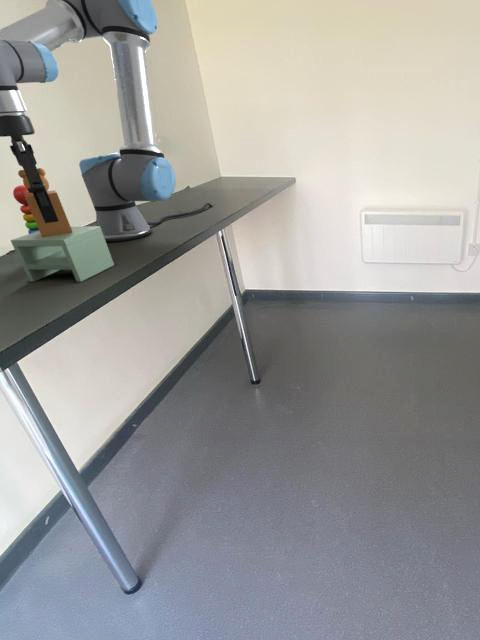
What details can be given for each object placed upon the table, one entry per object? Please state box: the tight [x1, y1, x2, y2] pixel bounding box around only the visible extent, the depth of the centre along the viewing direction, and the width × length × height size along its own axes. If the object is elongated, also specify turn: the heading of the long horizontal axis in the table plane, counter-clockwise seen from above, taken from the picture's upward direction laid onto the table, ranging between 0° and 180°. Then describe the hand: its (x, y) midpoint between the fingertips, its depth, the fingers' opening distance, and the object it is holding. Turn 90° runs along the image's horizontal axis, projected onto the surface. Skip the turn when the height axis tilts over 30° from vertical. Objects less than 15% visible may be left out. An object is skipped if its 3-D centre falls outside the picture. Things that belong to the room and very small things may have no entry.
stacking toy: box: [12, 184, 39, 234], centre depth 133 cm, size 8×8×19 cm
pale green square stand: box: [10, 225, 115, 283], centre depth 120 cm, size 13×14×10 cm
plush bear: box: [17, 167, 72, 237], centre depth 113 cm, size 6×6×14 cm
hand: (50, 217), depth 115 cm, fingers open, 13 cm apart
